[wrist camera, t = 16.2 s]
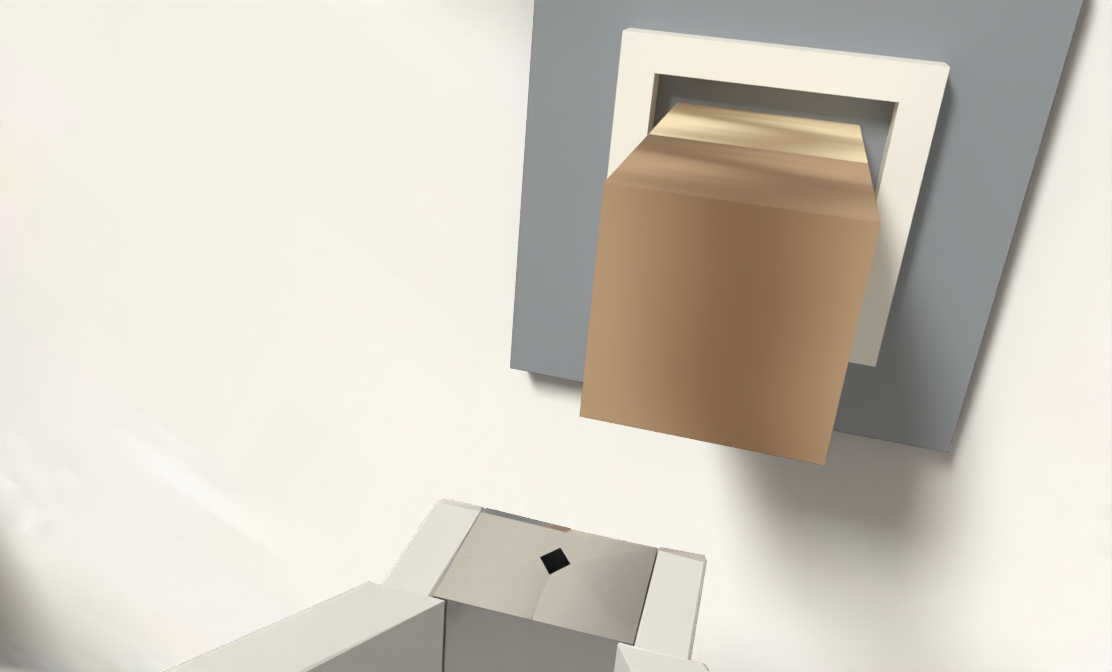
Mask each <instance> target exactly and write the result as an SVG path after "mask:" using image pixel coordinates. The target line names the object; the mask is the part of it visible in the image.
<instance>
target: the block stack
mask: <svg viewBox="0 0 1112 672" xmlns="http://www.w3.org/2000/svg"><path fill="white" fill-rule="evenodd" d="M880 225H881V221H880V216H879V212H878V207H877V202H876V198H875V193H874V189H873V184H872V180H871V175H870V170H869V166H868V161H867V157H866V152H865V148H864V143H863V138H862V134H861V129H860V125H857V124H849V123H841V122H833V121H825V120H817V119H810V118H802V117H794V116H786V115H778V114H770V113H762V112H754V111H746V110H738V109H730V108H722V107H714V106H706V105H698V104H690V103H682V102H678V103H677V104H676V105H675V106H674V107H673V108H672V109H671V110H670V111H669V112H668V113H667V114H666V116H665V117H664V118H663V119H662V120H661V121H660V122H659V123H658V124H657V125H656V126H655V127H654V129H653V130H652V131H651V132H650V133H649V134H648V135H647V136H646V137H645V138H644V139H643V141H642V142H641V143H640V144H639V145H638V146H637V147H636V148H635V149H634V150H633V151H632V152H631V154H630V155H629V156H628V157H627V158H626V159H625V160H624V161H623V162H622V163H621V164H620V166H619V167H618V168H617V169H616V170H615V171H614V172H613V173H612V174H611V175H610V176H609V177H608V179H607V180H606V181H605V182H604V185H603V195H602V205H601V214H600V224H599V233H598V243H597V253H596V262H595V272H594V282H593V291H592V301H591V311H590V320H589V330H588V339H587V349H586V359H585V368H584V378H583V388H582V397H581V407H580V417H585V418H590V419H595V420H600V421H605V422H610V423H615V424H620V425H625V426H630V427H635V428H640V429H645V430H650V431H655V432H660V433H665V434H670V435H675V436H680V437H685V438H690V439H695V440H700V441H705V442H710V443H715V444H720V445H725V446H730V447H735V448H740V449H745V450H750V451H755V452H760V453H765V454H769V455H774V456H779V457H784V458H789V459H794V460H799V461H804V462H809V463H814V464H819V465H824V464H825V459H826V455H827V451H828V447H829V442H830V438H831V434H832V430H833V425H834V421H835V417H836V413H837V408H838V404H839V400H840V396H841V391H842V387H843V383H844V379H845V374H846V370H847V366H848V362H849V357H850V353H851V349H852V345H853V340H854V336H855V332H856V328H857V323H858V319H859V315H860V311H861V306H862V302H863V298H864V294H865V289H866V285H867V281H868V277H869V272H870V268H871V264H872V259H873V255H874V251H875V247H876V242H877V238H878V234H879V230H880Z"/></svg>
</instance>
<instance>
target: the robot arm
mask: <svg viewBox="0 0 1112 672" xmlns="http://www.w3.org/2000/svg"><path fill="white" fill-rule="evenodd" d="M706 563H707V561H706V558H705V556H704V555H699V554H694V553H689V552H683V551H678V550H673V549H668V548H662V547H660V549H658V548H655V547H650V546H646V545H641V544H636V543H632V542H627V541H622V540H618V539H613V538H608V537H604V536H599V535H594V534H590V533H585V532H580V531H576V530H571V529H570V528H566V527H562V526H558V525H554V524H550V523H546V522H542V521H538V520H534V519H530V518H525V517H521V516H517V515H513V514H509V513H505V512H501V511H497V510H493V509H489V508H486V509H484V508H483V507H480V506H475V505H471V504H466V503H462V502H458V501H453V500H449V499H442V500H440V501H439V502H437V503H436V504H435V505H434V506H433V508H432V509H431V511H430V512H429V514H428V515H427V517H426V518H425V520H424V521H423V523H422V524H421V526H420V527H419V529H418V530H417V532H416V533H415V535H414V536H413V538H412V539H411V541H410V542H409V543H408V545H407V546H406V548H405V549H404V551H403V552H402V554H401V555H400V557H399V558H398V560H397V561H396V563H395V564H394V566H393V567H392V569H391V570H390V572H389V573H388V575H387V576H386V578H385V579H384V581H383V582H382V584H381V585H380V584H375V583H371V582H367V583H365V584H363V585H360V586H358V587H356V588H353V589H351V590H349V591H347V592H344V593H342V594H340V595H337V596H335V597H333V598H331V599H328V600H326V601H324V602H321V603H319V604H317V605H315V606H312V607H310V608H308V609H305V610H303V611H301V612H299V613H296V614H294V615H292V616H289V617H287V618H285V619H283V620H280V621H278V622H276V623H273V624H271V625H269V626H267V627H264V628H262V629H260V630H257V631H255V632H253V633H251V634H248V635H246V636H244V637H241V638H239V639H237V640H235V641H232V642H230V643H228V644H225V645H223V646H221V647H219V648H216V649H214V650H212V651H209V652H207V653H205V654H203V655H200V656H198V657H196V658H193V659H191V660H189V661H187V662H184V663H182V664H180V665H177V666H175V667H173V668H171V669H168V670H166V671H164V672H709V670H708V668H707V667H706V665H705V664H703V663H699V662H695V661H692V660H691V655H692V649H693V643H694V637H695V631H696V624H697V618H698V612H699V606H700V600H701V594H702V588H703V581H704V575H705V569H706Z"/></svg>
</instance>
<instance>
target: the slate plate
mask: <svg viewBox="0 0 1112 672" xmlns="http://www.w3.org/2000/svg"><path fill="white" fill-rule="evenodd" d="M1082 3H1083V0H535V1H534V16H533V31H532V46H531V61H530V76H529V91H528V106H527V121H526V136H525V151H524V166H523V181H522V196H521V211H520V226H519V241H518V256H517V271H516V286H515V301H514V316H513V331H512V346H511V361H510V368H512V369H517V370H523V371H528V372H533V373H538V374H543V375H548V376H554V377H559V378H564V379H569V380H574V381H580V382H583V378H584V368H585V359H586V349H587V339H588V330H589V320H590V311H591V301H592V291H593V282H594V272H595V262H596V253H597V243H598V233H599V224H600V214H601V205H602V195H603V185H604V182H605V181H606V180H607V179H608V177H609V176H610V175H611V174H612V173H613V172H614V171H615V170H616V169H617V168H618V167H619V166H620V164H621V163H622V162H623V161H624V160H625V159H626V158H627V157H628V156H629V155H630V154H631V152H632V151H633V150H634V149H635V148H636V147H637V146H638V145H639V144H640V143H641V142H642V141H643V139H644V138H645V137H646V136H647V135H648V134H649V133H650V132H651V131H652V130H653V129H654V127H655V126H656V125H657V124H658V123H659V122H660V121H661V120H662V119H663V118H664V117H665V116H666V114H667V113H668V112H669V111H670V110H671V109H672V108H673V107H674V106H675V105H676V104H677V103H678V102H682V103H690V104H698V105H706V106H714V107H722V108H730V109H738V110H746V111H754V112H762V113H770V114H778V115H786V116H794V117H802V118H810V119H817V120H825V121H833V122H841V123H849V124H857V125H860V129H861V134H862V138H863V143H864V148H865V152H866V157H867V161H868V166H869V170H870V175H871V180H872V184H873V189H874V193H875V198H876V202H877V207H878V212H879V216H880V221H881V225H880V230H879V234H878V238H877V242H876V247H875V251H874V255H873V259H872V264H871V268H870V272H869V277H868V281H867V285H866V289H865V294H864V298H863V302H862V306H861V311H860V315H859V319H858V323H857V328H856V332H855V336H854V340H853V345H852V349H851V353H850V357H849V362H848V366H847V370H846V374H845V379H844V383H843V387H842V391H841V396H840V400H839V404H838V408H837V413H836V417H835V421H834V425H833V430H834V431H839V432H844V433H849V434H854V435H860V436H865V437H870V438H875V439H880V440H886V441H891V442H896V443H901V444H906V445H911V446H917V447H922V448H927V449H932V450H937V451H943V452H949V448H950V445H951V442H952V438H953V435H954V432H955V428H956V425H957V422H958V418H959V415H960V412H961V408H962V405H963V401H964V398H965V395H966V391H967V388H968V385H969V381H970V378H971V375H972V371H973V368H974V365H975V361H976V358H977V355H978V351H979V348H980V345H981V341H982V338H983V334H984V331H985V328H986V324H987V321H988V318H989V314H990V311H991V308H992V304H993V301H994V298H995V294H996V291H997V288H998V284H999V281H1000V278H1001V274H1002V271H1003V267H1004V264H1005V261H1006V257H1007V254H1008V251H1009V247H1010V244H1011V241H1012V237H1013V234H1014V231H1015V227H1016V224H1017V221H1018V217H1019V214H1020V211H1021V207H1022V204H1023V200H1024V197H1025V194H1026V190H1027V187H1028V184H1029V180H1030V177H1031V174H1032V170H1033V167H1034V164H1035V160H1036V157H1037V154H1038V150H1039V147H1040V144H1041V140H1042V137H1043V133H1044V130H1045V127H1046V123H1047V120H1048V117H1049V113H1050V110H1051V107H1052V103H1053V100H1054V97H1055V93H1056V90H1057V87H1058V83H1059V80H1060V77H1061V73H1062V70H1063V66H1064V63H1065V60H1066V56H1067V53H1068V50H1069V46H1070V43H1071V40H1072V36H1073V33H1074V30H1075V26H1076V23H1077V20H1078V16H1079V13H1080V10H1081V6H1082Z"/></svg>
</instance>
